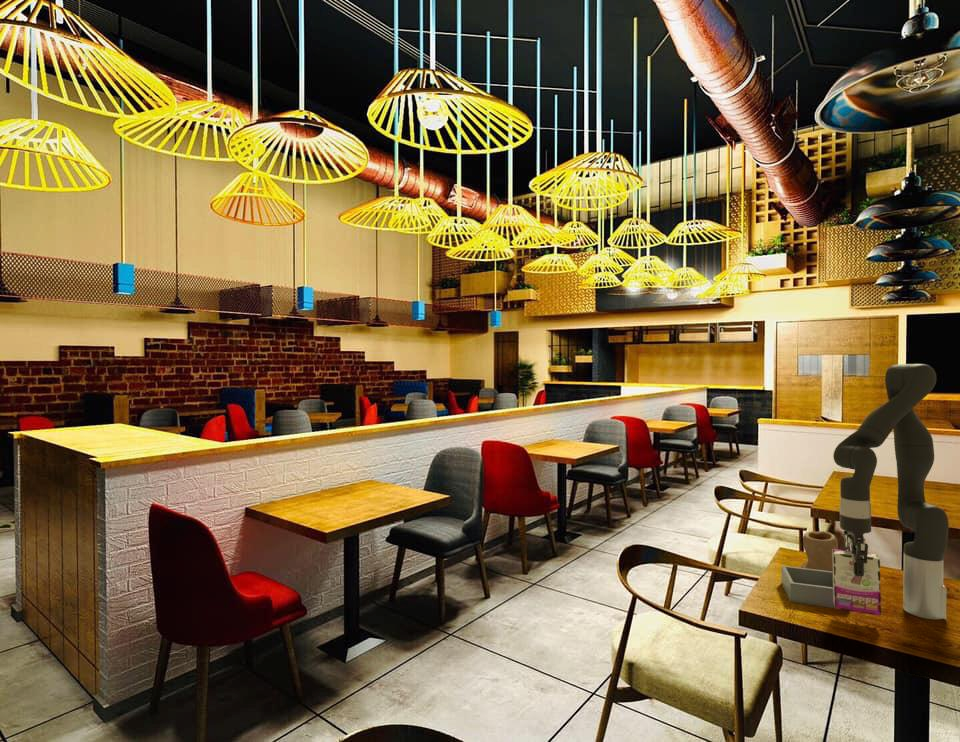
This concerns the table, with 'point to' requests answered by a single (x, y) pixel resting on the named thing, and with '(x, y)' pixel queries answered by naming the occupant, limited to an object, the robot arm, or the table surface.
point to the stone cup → (819, 550)
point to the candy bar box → (856, 584)
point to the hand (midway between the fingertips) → (855, 571)
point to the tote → (808, 586)
